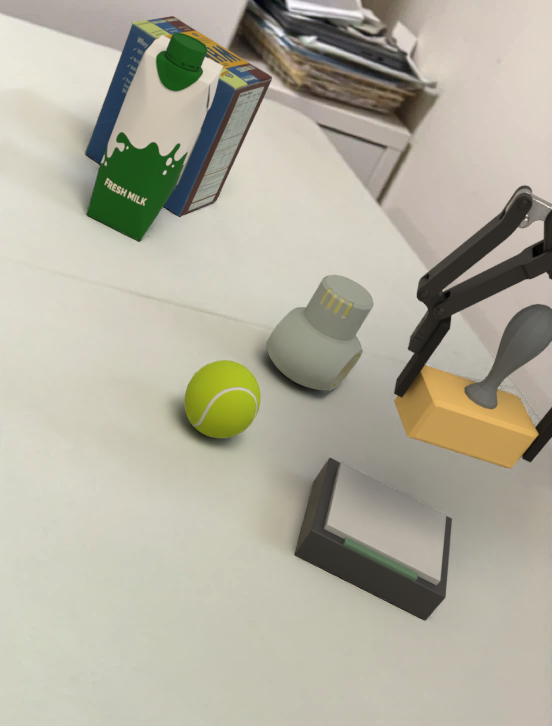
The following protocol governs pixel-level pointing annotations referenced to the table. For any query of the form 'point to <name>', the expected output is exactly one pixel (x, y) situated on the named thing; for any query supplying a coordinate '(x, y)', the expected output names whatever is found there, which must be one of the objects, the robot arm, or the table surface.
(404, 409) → the rubber stamp
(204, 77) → the milk carton
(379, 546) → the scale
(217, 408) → the tennis ball
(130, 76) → the protein box
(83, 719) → the table surface
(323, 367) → the air freshener
